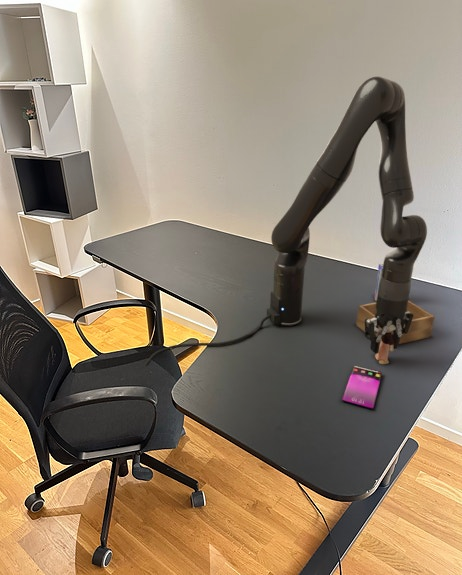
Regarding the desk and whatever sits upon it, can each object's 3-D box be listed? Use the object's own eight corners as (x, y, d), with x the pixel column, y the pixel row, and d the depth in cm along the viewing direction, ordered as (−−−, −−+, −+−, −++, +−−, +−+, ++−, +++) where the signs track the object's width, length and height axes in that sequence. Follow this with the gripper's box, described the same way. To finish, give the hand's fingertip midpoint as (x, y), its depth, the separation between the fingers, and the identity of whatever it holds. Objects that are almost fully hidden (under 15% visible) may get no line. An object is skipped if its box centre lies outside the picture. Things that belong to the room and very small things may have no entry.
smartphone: (381, 374, 114) (382, 371, 114) (372, 410, 102) (373, 407, 102) (353, 367, 117) (353, 365, 117) (341, 401, 105) (341, 398, 104)
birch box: (384, 347, 126) (387, 326, 123) (356, 325, 138) (358, 305, 135) (430, 336, 131) (434, 316, 128) (399, 316, 143) (403, 297, 140)
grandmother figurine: (368, 354, 123) (374, 314, 118) (380, 352, 124) (387, 312, 119) (384, 369, 116) (391, 328, 111) (396, 367, 117) (404, 326, 112)
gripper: (406, 283, 117) (396, 337, 124) (360, 291, 112) (353, 347, 120) (426, 295, 110) (415, 351, 118) (379, 304, 106) (370, 362, 113)
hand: (384, 349), depth 119 cm, fingers open, 5 cm apart
